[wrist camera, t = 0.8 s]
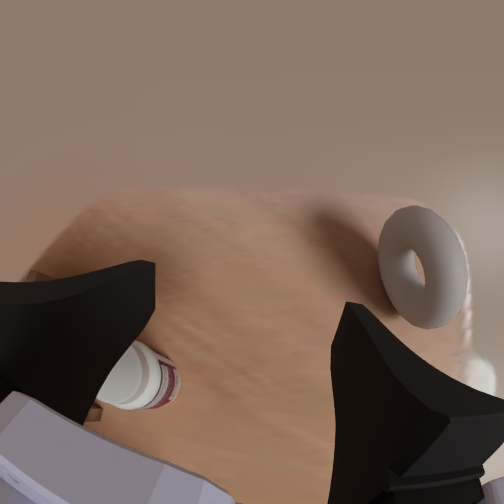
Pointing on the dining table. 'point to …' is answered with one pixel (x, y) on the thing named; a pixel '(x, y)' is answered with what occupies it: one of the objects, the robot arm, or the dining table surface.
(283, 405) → the dining table surface
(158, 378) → the pill bottle
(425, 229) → the donut
